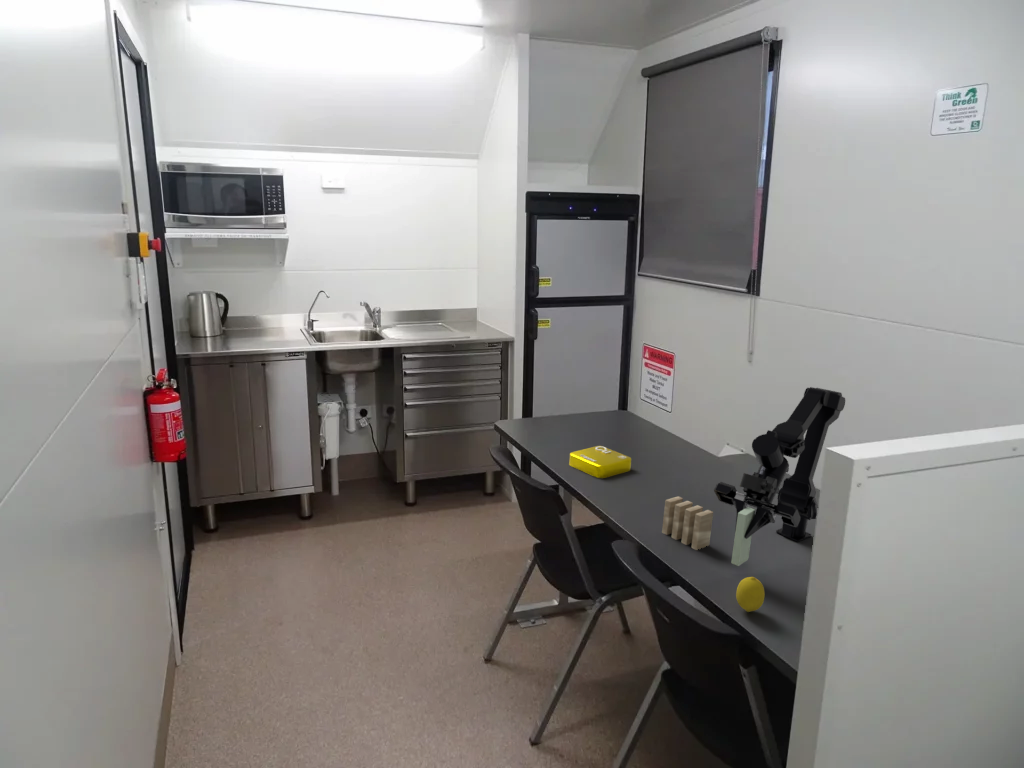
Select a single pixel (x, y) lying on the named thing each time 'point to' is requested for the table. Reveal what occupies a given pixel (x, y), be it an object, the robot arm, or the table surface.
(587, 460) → the element tile
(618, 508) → the table surface
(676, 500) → the tile
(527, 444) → the table surface
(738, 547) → the head tile
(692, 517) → the tile
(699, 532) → the tile
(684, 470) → the table surface
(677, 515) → the tile
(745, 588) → the lemon
